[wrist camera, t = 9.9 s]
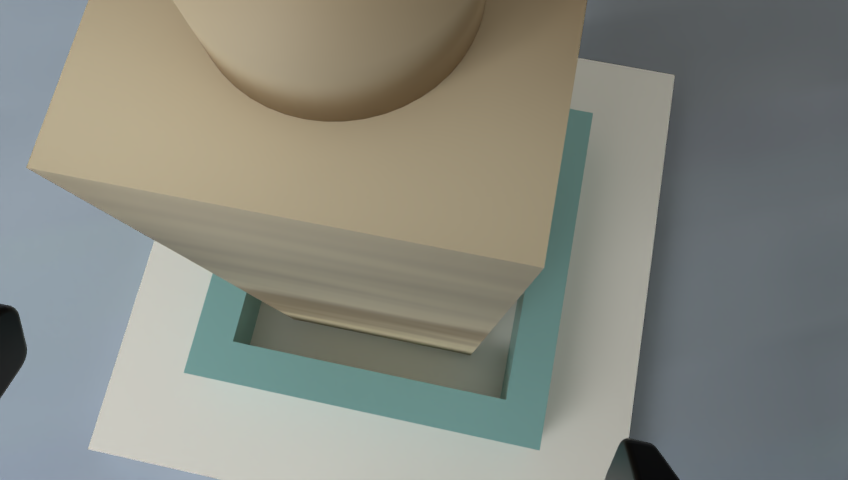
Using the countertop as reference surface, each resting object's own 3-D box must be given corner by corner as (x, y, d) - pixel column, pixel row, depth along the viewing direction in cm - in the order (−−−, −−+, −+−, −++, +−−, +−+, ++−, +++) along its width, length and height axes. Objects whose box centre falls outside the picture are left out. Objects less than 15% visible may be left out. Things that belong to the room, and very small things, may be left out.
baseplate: (602, 559, 17) (629, 585, 15) (106, 446, 18) (55, 453, 16) (663, 90, 20) (694, 48, 18) (241, 14, 21) (216, -35, 19)
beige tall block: (470, 355, 17) (565, 242, 5) (293, 319, 18) (-52, 124, 5) (501, 184, 19) (644, -266, 6) (335, 153, 19) (137, -337, 6)
